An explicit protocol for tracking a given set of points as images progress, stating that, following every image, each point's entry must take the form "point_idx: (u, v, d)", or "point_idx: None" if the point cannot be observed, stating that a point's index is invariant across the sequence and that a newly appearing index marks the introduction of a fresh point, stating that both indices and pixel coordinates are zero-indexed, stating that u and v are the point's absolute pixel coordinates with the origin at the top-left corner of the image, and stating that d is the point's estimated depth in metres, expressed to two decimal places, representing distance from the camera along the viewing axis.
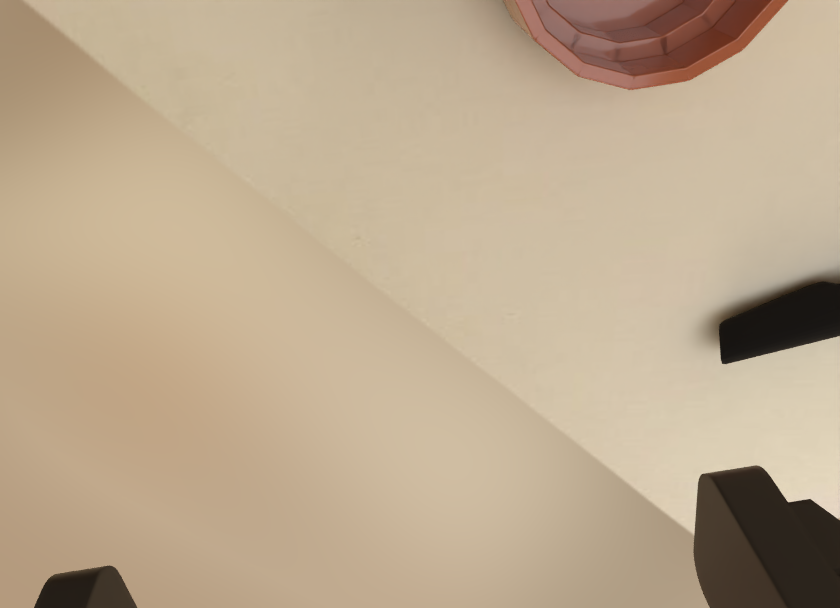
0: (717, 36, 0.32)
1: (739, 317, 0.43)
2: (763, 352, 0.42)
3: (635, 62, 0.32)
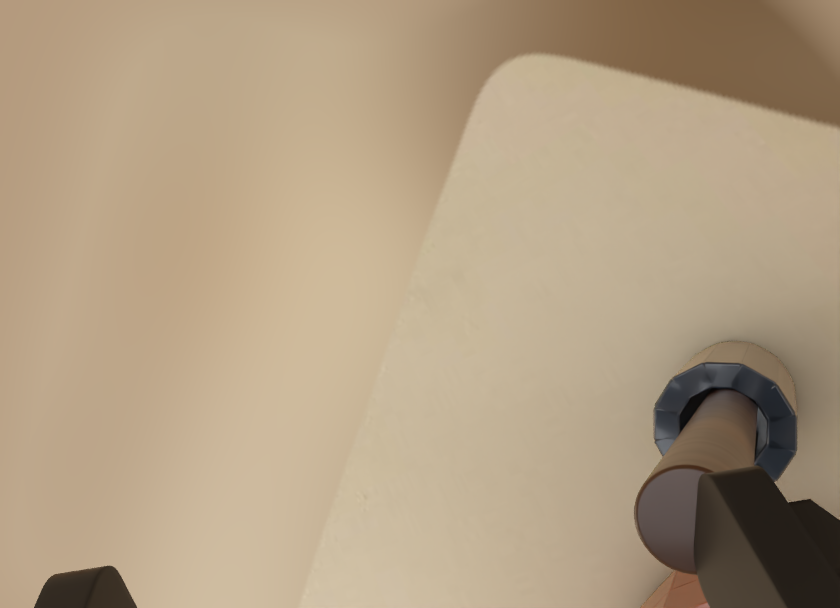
0: None
1: None
2: None
3: None
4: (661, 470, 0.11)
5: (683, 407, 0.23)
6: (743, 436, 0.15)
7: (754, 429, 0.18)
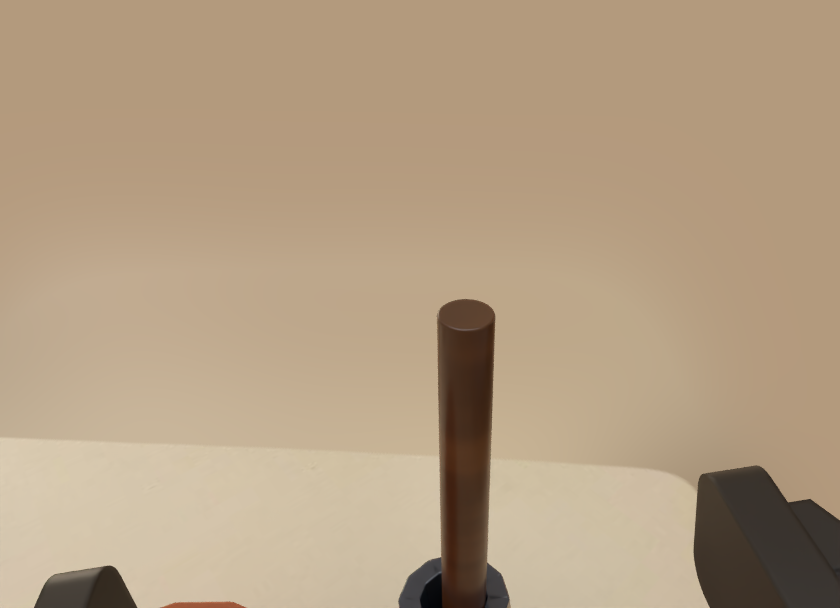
0: None
1: None
2: None
3: None
4: None
5: None
6: (487, 457, 0.23)
7: (477, 538, 0.24)
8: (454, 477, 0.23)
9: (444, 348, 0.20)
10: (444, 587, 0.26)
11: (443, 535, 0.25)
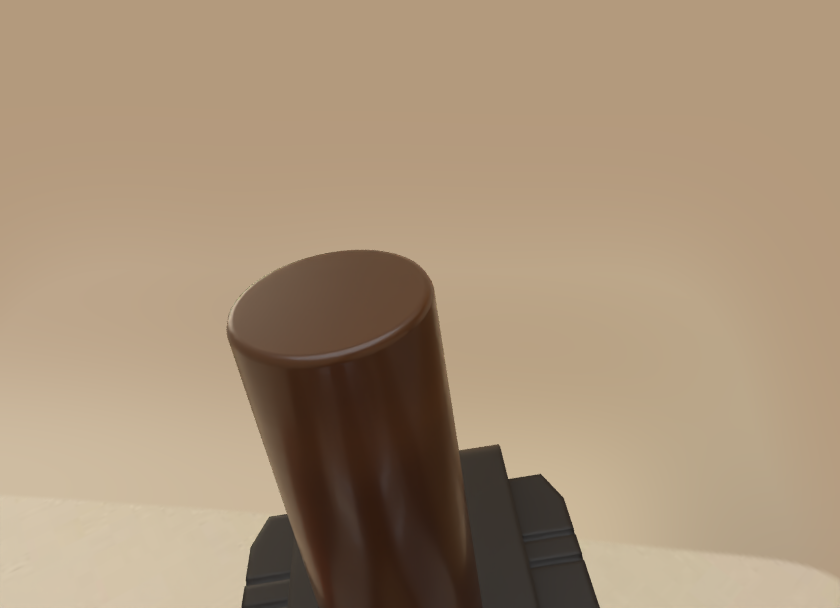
0: None
1: None
2: None
3: None
4: (406, 258, 0.06)
5: None
6: None
7: None
8: None
9: (263, 428, 0.06)
10: None
11: None
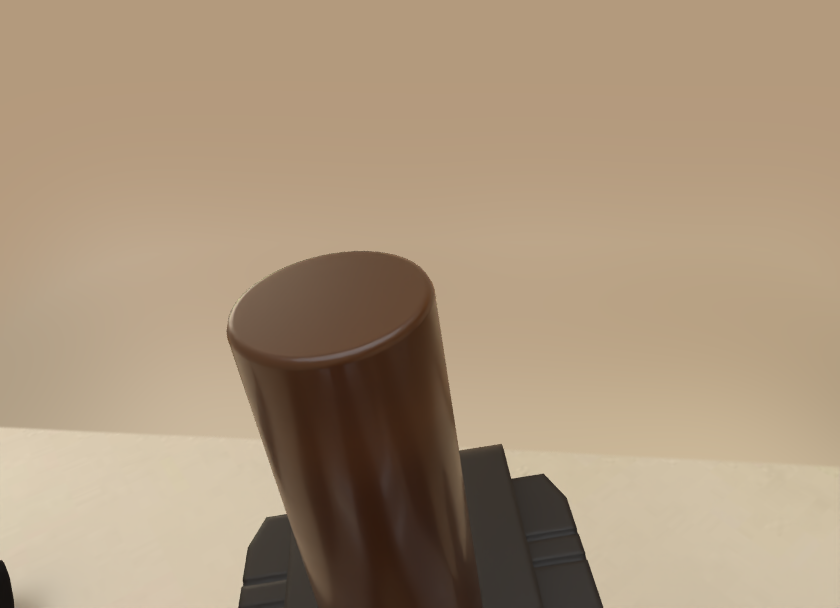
0: None
1: None
2: None
3: None
4: (406, 259, 0.06)
5: None
6: None
7: None
8: None
9: (264, 429, 0.06)
10: None
11: None
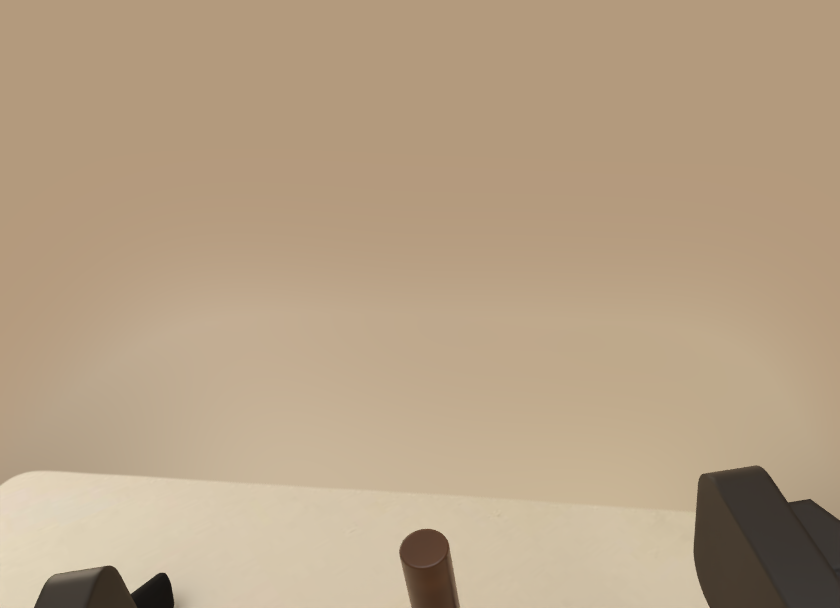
0: None
1: None
2: None
3: None
4: (441, 533, 0.24)
5: None
6: None
7: None
8: None
9: (408, 579, 0.24)
10: None
11: None
